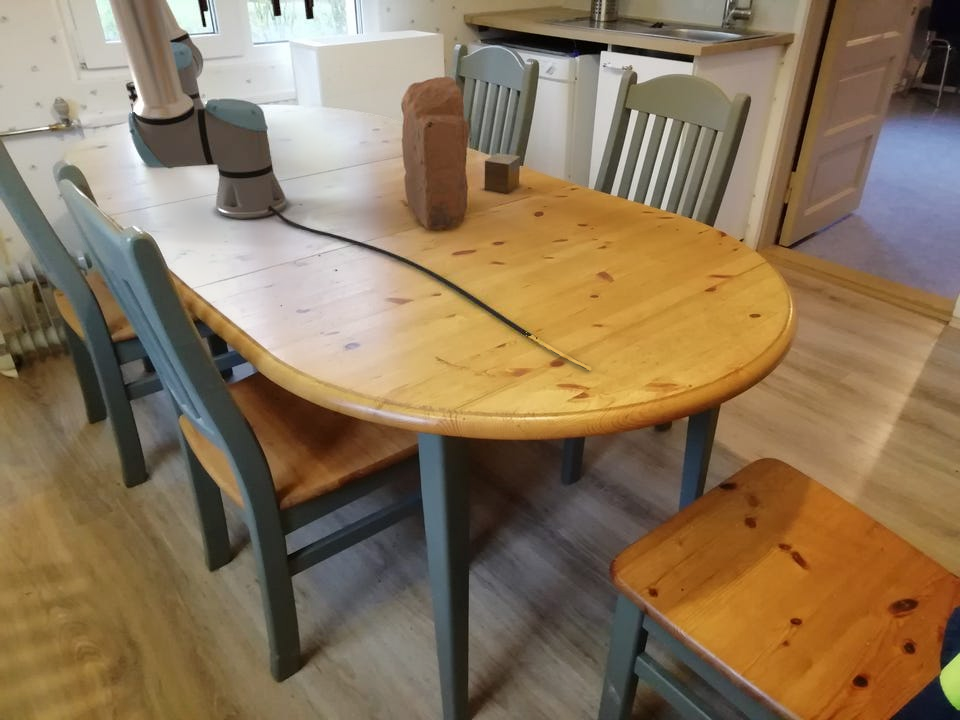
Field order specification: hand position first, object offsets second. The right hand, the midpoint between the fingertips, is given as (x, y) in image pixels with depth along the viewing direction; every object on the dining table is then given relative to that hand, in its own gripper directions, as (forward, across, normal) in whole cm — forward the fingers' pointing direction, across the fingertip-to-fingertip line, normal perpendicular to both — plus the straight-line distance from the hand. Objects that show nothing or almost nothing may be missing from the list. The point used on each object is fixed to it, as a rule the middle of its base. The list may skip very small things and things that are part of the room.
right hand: (175, 27), depth 168 cm
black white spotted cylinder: (+23, +10, -5) cm, 26 cm away
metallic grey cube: (+34, -67, +47) cm, 89 cm away
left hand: (+3, -37, -48) cm, 61 cm away
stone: (+34, -46, +59) cm, 82 cm away
